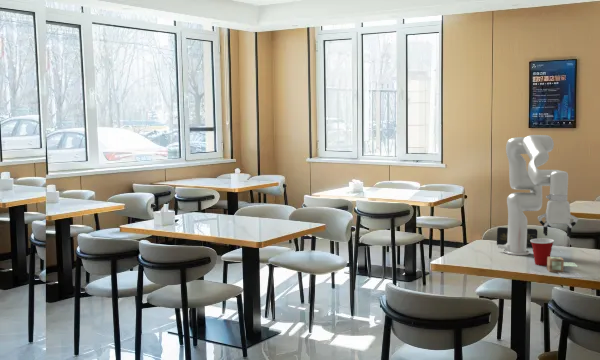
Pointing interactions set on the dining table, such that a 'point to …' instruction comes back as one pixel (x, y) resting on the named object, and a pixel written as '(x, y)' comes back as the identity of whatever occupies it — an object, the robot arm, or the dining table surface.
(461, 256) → the dining table surface
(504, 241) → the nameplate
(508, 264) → the dining table surface
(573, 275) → the grey pad
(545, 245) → the plastic cup
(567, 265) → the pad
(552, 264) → the letter block
